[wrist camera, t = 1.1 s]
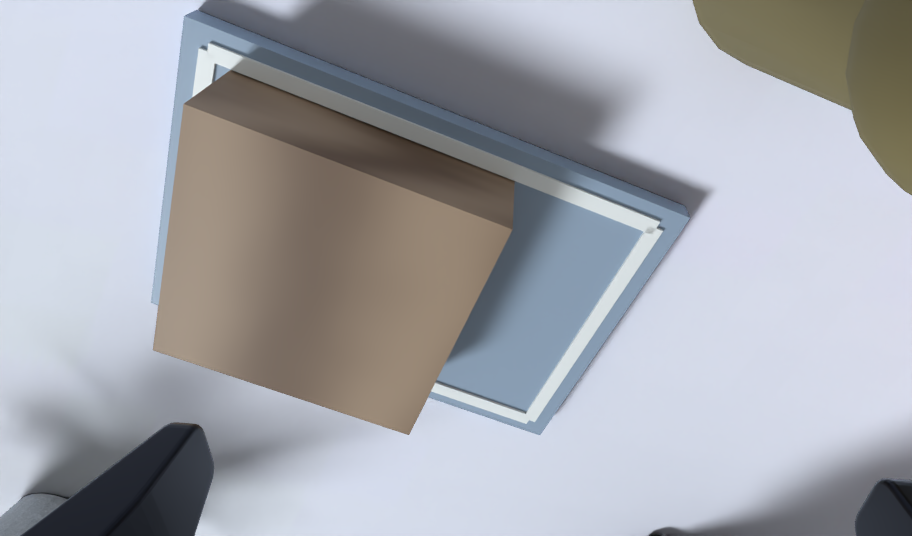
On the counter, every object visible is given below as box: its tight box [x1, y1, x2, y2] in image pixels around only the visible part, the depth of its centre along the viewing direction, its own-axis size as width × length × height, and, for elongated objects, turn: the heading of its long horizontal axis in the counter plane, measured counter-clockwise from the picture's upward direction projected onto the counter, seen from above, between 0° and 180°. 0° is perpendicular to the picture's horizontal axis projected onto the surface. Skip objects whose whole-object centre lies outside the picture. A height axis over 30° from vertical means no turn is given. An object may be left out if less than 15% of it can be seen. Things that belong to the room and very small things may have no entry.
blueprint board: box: [151, 10, 690, 435], centre depth 22 cm, size 16×11×1 cm
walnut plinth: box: [153, 70, 515, 435], centre depth 20 cm, size 9×9×3 cm
